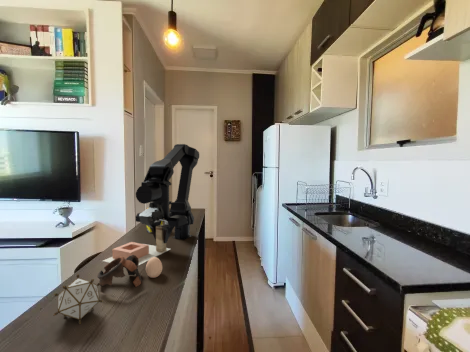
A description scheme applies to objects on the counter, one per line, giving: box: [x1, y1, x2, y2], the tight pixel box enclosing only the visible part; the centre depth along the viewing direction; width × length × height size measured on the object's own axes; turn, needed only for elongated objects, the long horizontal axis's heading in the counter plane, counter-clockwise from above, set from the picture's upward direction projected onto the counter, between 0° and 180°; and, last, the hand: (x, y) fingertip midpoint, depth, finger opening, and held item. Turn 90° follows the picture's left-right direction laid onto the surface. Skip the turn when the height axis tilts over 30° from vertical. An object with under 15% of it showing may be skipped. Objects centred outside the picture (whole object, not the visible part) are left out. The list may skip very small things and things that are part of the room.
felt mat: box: [102, 243, 171, 266], centre depth 84 cm, size 18×13×1 cm
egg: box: [145, 256, 163, 279], centre depth 68 cm, size 4×4×6 cm
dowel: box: [155, 224, 167, 253], centre depth 87 cm, size 3×3×9 cm
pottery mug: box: [96, 255, 143, 288], centre depth 65 cm, size 12×10×8 cm
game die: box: [53, 273, 104, 325], centre depth 51 cm, size 9×8×10 cm
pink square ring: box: [111, 241, 150, 259], centre depth 82 cm, size 8×8×3 cm
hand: (161, 242), depth 87 cm, fingers open, 3 cm apart
